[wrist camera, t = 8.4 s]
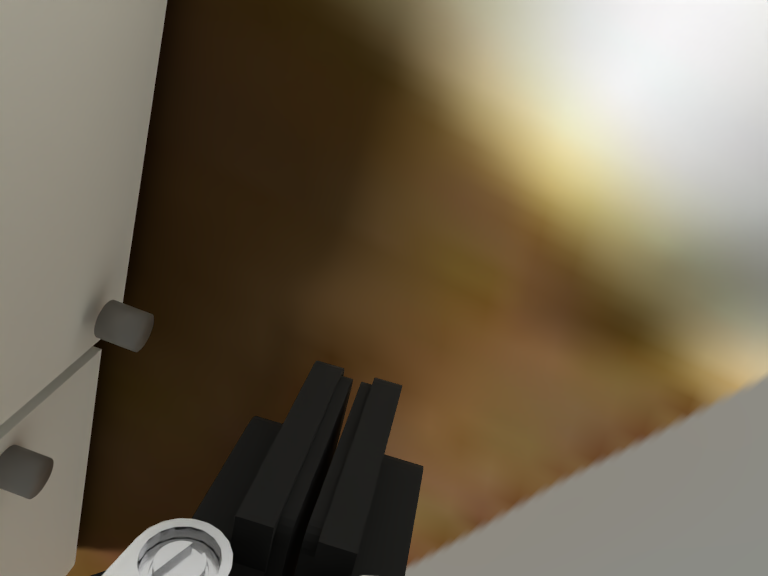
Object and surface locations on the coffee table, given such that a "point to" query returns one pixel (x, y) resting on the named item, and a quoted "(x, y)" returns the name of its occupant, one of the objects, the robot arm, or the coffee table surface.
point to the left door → (70, 180)
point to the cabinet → (47, 473)
